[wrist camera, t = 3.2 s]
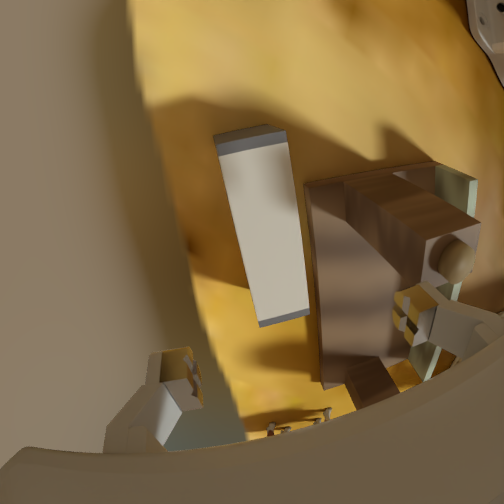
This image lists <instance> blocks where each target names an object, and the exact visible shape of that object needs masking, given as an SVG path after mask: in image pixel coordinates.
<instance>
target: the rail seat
mask: <svg viewBox="0 0 504 504" xmlns="http://www.w3.org/2000/svg"><path fill="white" fill-rule="evenodd" d="M477 185H478V179H475V178H473V177H471V176H469V175H467V174H464V173H462V172H460V171H458V170H455V169H453V168H450V167H448V166H446V165H443V164H441V163H438V162H436V161H431V162H424V163H417V164H411V165H404V166H398V167H392V168H385V169H379V170H374V171H368V172H362V173H356V174H351V175H346V176H340V177H335V178H330V179H325V180H320V181H315V182H310V183H305V184H303V186H304V193H305V201H306V209H307V217H308V225H309V234H310V243H311V253H312V263H313V273H314V284H315V296H316V309H317V323H318V338H319V356H320V378H321V385H322V387H323V390H327V389H330V388H333V387H336V386H339V385H342V384H345V386H346V388H347V390H348V392H349V394H350V397H351V399H352V401H353V403H354V405H355V407H356V410H360V409H362V408H365V407H368V406H370V405H373V404H375V403H378V402H380V401H383V400H385V399H387V398H390V397H392V396H394V395H397V394H399V393H400V392H399V390H398V388H397V386H396V385H395V383H394V381H393V380H392V378H391V376H390V375H389V373H388V371H387V369H386V368H387V367H390V366H392V365H395V364H397V363H399V362H402V361H404V360H406V359H408V360H409V361H410V363H411V364H412V366H413V367H414V369H415V371H416V372H417V374H418V375H419V377H420V378H421V380H422V381H423V382H424V381H426V380H428V379H430V377H431V375H432V373H433V370H434V368H435V365H436V363H437V360H438V357H439V355H440V352H441V349H442V348H440V347H438V346H436V345H434V344H433V343H431V342H429V340H428V341H426V342H423V343H421V344H419V345H416V346H414V347H411V345H410V344H409V343H408V341H407V340H406V339H405V338H404V332H403V331H400V330H398V329H397V327H396V326H395V324H394V322H393V317H392V311H393V308H394V306H395V305H396V302H395V301H394V295H395V293H396V291H399V290H402V289H405V288H408V287H410V286H413V285H416V284H418V283H421V282H423V281H428V282H429V283H430V284H431V285H433V286H434V287H435V288H436V289H437V290H438V291H439V292H440V293H441V294H442V295H443V296H444V297H446V298H447V299H448V300H449V301H450V300H454V301H457V299H458V295H459V292H460V288H461V284H462V281H463V280H464V279H465V278H466V277H467V276H468V274H469V273H471V272H472V268H473V265H474V262H475V255H476V250H477V245H478V239H479V233H480V227H481V222H479V221H478V220H476V219H475V218H474V214H475V206H476V196H477Z"/></svg>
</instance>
